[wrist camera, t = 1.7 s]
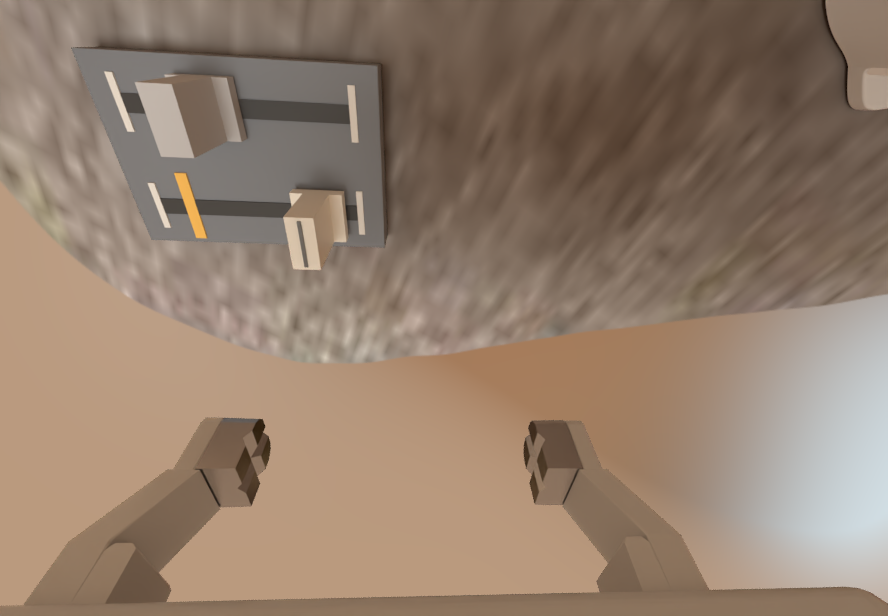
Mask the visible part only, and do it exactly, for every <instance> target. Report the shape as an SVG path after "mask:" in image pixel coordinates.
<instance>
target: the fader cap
mask: <svg viewBox="0 0 888 616" xmlns="http://www.w3.org/2000/svg"><path fill="white" fill-rule="evenodd" d="M289 195H290V200H291V206H292V207H291V208H290V209H289V211H288V212H287V213H286V214H285V215H284V217H283V219H284V224H285V229H286V234H287V239H288V244H289V249H290V254H291V259H292V264H293V269H307V270H321V269H322V267H323V265H324V263H325V261H326V258H327V256H328V254H329V252H330V250H331V248H332V246H333V244H334V242H347V240H348V227H347V217H346V207H345V197H344V191H330V190H306V189H292V191H291V192H290V193H289Z"/></svg>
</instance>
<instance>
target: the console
mask: <svg viewBox="0 0 888 616" xmlns="http://www.w3.org/2000/svg"><path fill="white" fill-rule="evenodd" d="M71 49H72V51H73V54H74V56H75V58H76V61H77V63H78V66H79V68H80V70H81V73H82V75H83V77H84V80H85V82H86V85H87V87H88V89H89V92H90V94H91V96H92V99H93V101H94V104H95V106H96V108H97V111H98V113H99V116H100V118H101V120H102V123H103V125H104V127H105V130H106V132H107V135H108V137H109V139H110V142H111V144H112V147H113V149H114V151H115V154H116V156H117V158H118V161H119V163H120V166H121V168H122V170H123V173H124V175H125V178H126V180H127V182H128V185H129V187H130V189H131V192H132V194H133V197H134V199H135V201H136V204H137V206H138V208H139V211H140V213H141V216H142V218H143V220H144V223H145V225H146V228H147V230H148V232H149V235H150V237H151V239H152V240H174V241H204V242H233V243H262V244H288V239H287V234H286V229H285V224H284V219H283V217H284V215H285V214H286V213H287V212H288V211H289V209H290V208H291V207H292V206H291V200H290V195H289V193H290V192H291V191H292V189H306V190H330V191H344V197H345V207H346V217H347V227H348V240H347V242H334V244H333V246H350V247H380V248H385V244H386V239H387V216H386V188H385V159H384V131H383V103H382V75H381V64H377V63H360V62H343V61H327V60H310V59H293V58H276V57H260V56H243V55H226V54H209V53H192V52H176V51H159V50H142V49H125V48H108V47H76V48H71Z"/></svg>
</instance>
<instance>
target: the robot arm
mask: <svg viewBox="0 0 888 616" xmlns="http://www.w3.org/2000/svg"><path fill="white" fill-rule="evenodd" d="M826 11H827V17H828V22H829V26H830V29H831V32H832V34H833V36H834V38H835V40H836V42H837V44H838V45H839V47H840V49H841V50H842V52H843V54H844V56H845V58H846V60H847V64H848V79H847V96H848V102H849V104H850V106H851V107H852V108H853V109H856V110H881V109H888V0H826ZM264 429H265V424H264V421H263V419H241V418H240V419H239V418H206V419H204V420H203V421H202V422H201V423H200V425H199V427H198V429H197V430H196V432H195V433H194V435H193V437H192V438H191V440H190V442H189V443H188V445H187V447H186V449H185V450H184V452H183V454H182V455H181V457H180V459H179V460H178V462H177V464H176V465H175V467H174V469H173V470H166V471H165V472H164V473H162V474H161V475H159V476H158V477H157V478H155V479H154V480H153V481H151V482H150V483H148V484H147V485H146V486H144V487H143V488H142V489H140V490H139V491H138V492H136V493H135V494H134V495H132V496H131V497H129V498H128V499H127V500H125V501H124V502H122V503H121V504H120V505H118V506H117V507H116V508H114V509H113V510H112V511H110V512H109V513H107V514H106V515H105V516H103V517H102V518H100V519H99V520H98V521H96V522H95V523H94V524H92V525H91V526H90V527H88V528H87V529H86V530H84V531H83V532H81V533H80V534H79V535H77V536H76V537H75V538H73V539H72V540H70V541H69V542H68V543H67V545H66V546H65V548H64V549H63V550H62V552H61V553H60V555H59V556H58V557H57V559H56V560H55V562H54V563H53V564H52V566H51V567H50V569H49V570H48V571H47V573H46V574H45V575H44V577H43V578H42V580H41V581H40V582H39V584H38V585H37V587H36V588H35V589H34V591H33V592H32V594H31V595H30V597H29V598H28V599H27V601H26V602H25V603H24V605H20V606H19V605H18V606H0V616H888V603H886V602H884V601H883V600H881V599H880V598H878V597H877V596H875V595H874V594H872V593H870V592H868V591H865V590H862V589H859V588H851V587H826V588H824V587H823V588H781V589H780V588H778V589H734V590H709V588H708V587H707V585H706V583H705V581H704V579H703V577H702V575H701V573H700V571H699V569H698V567H697V565H696V564H695V561H694V559H693V557H692V556H691V554H690V552H689V550H688V548H687V546H686V544H685V542H684V540H683V538H682V536H681V535H680V534H679V533H678V532H677V531H676V530H675V529H674V528H673V527H671V526H670V525H669V524H668V523H667V522H666V521H665V520H664V519H663V518H661V517H660V516H659V515H658V514H657V513H656V512H655V511H654V510H652V509H651V508H650V507H649V506H648V505H647V504H646V503H644V502H643V501H642V500H641V499H640V498H639V497H638V496H637V495H636V494H634V493H633V492H632V491H631V490H630V489H629V488H628V487H627V486H625V485H624V484H623V483H622V482H621V481H620V480H619V479H618V478H616V477H615V476H614V475H613V474H612V473H611V472H609V470H607V469H602V467H601V465H600V462H599V460H598V457H597V455H596V453H595V450H594V448H593V445H592V443H591V441H590V438H589V436H588V433H587V431H586V429H585V426H584V424H583V423H582V422H581V421H563V420H555V421H554V420H548V421H545V420H543V421H531V422H530V425H529V427H528V429H529V433H530V435H528V436H527V437H526V438H525V442H524V461H525V465H526V469H527V470H528V471H529V472H530V473H531V474H532V476H531V480H530V487H531V491H532V495H533V499H534V503H535V504H541V505H563V507H564V509H565V510H566V511H567V512H568V514H569V515H570V516H571V517H572V519H573V520H574V521H575V522H576V523H577V525H578V526H579V527H580V529H581V530H582V531H583V532H584V533H585V535H586V536H587V537H588V538H589V540H590V541H591V542H592V543H593V545H594V546H595V547H596V548H597V550H598V551H599V552H600V553H601V555H602V556H603V557H604V558H605V559H606V561H607V562H608V565H607V566H606V568H605V569H604V570H603V572H602V573H601V575H600V576H599V578H598V580H597V585H598V588H599V591H600V592H599V593H551V594H510V595H509V594H506V595H463V596H416V597H371V598H331V599H330V598H328V599H284V600H242V601H241V600H238V601H194V602H166V601H167V599H168V597H169V594H170V592H171V588H170V586H169V584H168V583H167V582H166V581H165V580H164V578H163V577H162V576H161V575H160V574H159V572H160V570H161V569H162V568H163V567H164V566H165V565H166V564H167V563H168V562H169V561H170V560H171V559H172V558H173V557H174V556H175V555H176V554H177V553H178V552H179V551H180V550H181V549H182V548H183V547H184V546H185V545H186V543H188V542H189V540H190V539H191V538H192V537H193V536H194V535H195V534H196V533H197V532H198V531H199V530H200V529H201V528H202V527H203V526H204V525H205V524H206V523H207V522H208V521H209V520H210V519H211V518H212V517H213V516H214V515H215V514H216V513H217V512H218V511H219V510H220V508H219V507H244V506H252V503H253V501H254V498H255V496H256V493H257V490H258V488H259V485H260V482H259V479H258V477H257V476H258V475H259V474H260V473H261V472H263V470H265V469H266V466H267V463H268V461H269V456H270V449H271V447H270V440H269V436H267V435H266V434H265V433H263V431H264Z"/></svg>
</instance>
